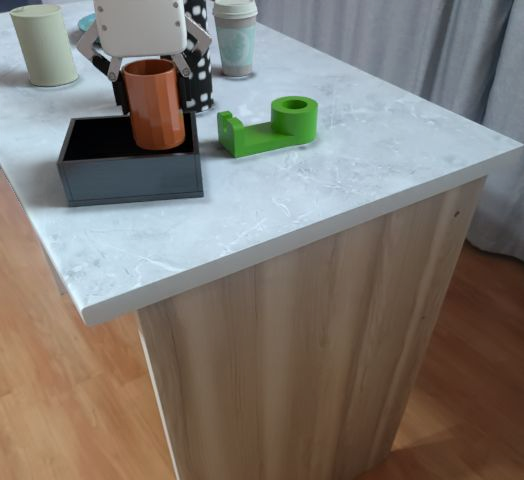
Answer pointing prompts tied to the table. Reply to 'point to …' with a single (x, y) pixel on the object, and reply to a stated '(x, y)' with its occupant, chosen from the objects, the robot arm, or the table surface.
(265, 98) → the table surface
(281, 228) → the table surface
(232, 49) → the coffee cup
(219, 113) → the tape dispenser
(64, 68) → the can
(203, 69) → the white-spotted black cylinder
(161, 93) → the cup
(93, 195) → the dark grey storage bin
